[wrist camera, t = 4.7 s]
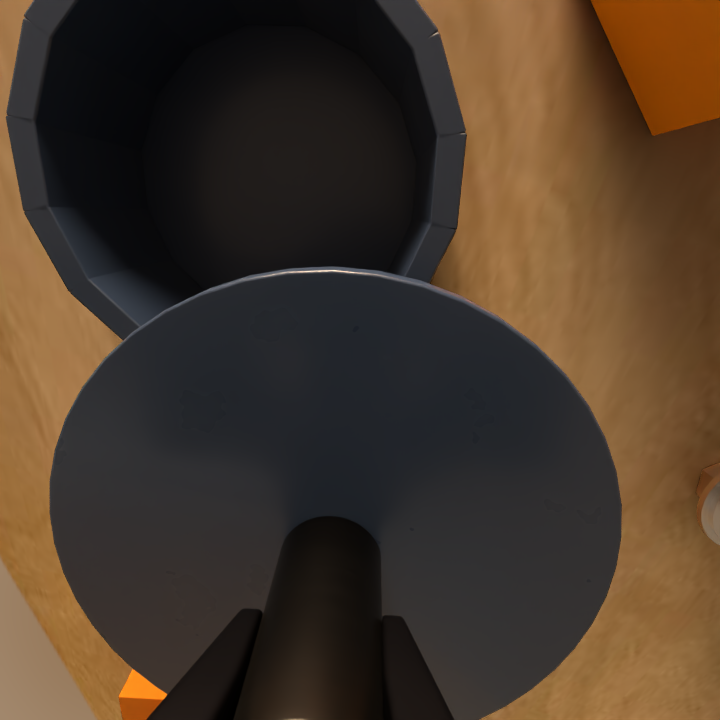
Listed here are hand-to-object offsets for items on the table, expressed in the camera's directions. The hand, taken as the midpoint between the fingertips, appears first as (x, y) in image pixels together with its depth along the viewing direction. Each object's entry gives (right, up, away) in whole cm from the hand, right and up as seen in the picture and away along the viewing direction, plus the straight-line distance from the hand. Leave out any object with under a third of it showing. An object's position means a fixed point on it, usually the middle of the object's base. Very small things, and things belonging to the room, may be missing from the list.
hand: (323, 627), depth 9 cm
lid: (0, +1, +2) cm, 3 cm away
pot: (-3, +13, +10) cm, 16 cm away
